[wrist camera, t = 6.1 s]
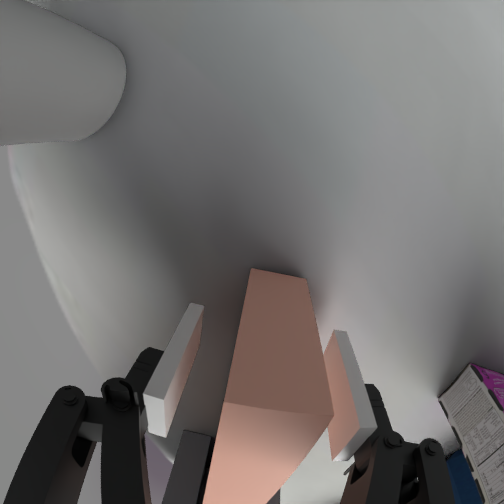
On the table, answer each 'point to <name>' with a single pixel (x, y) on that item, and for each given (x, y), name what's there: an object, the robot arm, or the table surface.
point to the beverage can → (54, 77)
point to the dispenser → (192, 472)
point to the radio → (462, 480)
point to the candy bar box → (479, 426)
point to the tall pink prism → (270, 393)
